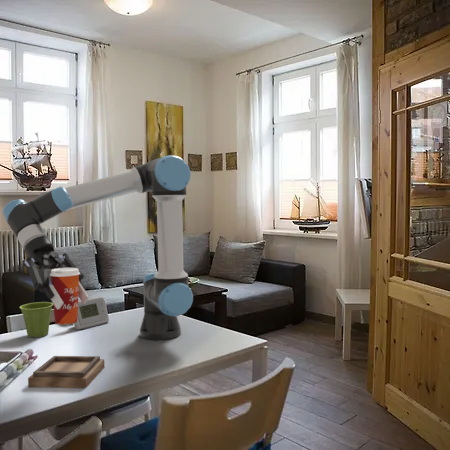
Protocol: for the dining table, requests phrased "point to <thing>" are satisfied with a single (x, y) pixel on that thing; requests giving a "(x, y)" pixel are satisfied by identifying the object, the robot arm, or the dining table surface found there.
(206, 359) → the dining table surface
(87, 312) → the digital clock
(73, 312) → the coffee cup
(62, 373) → the walnut base plate
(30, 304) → the plant pot
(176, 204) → the robot arm
